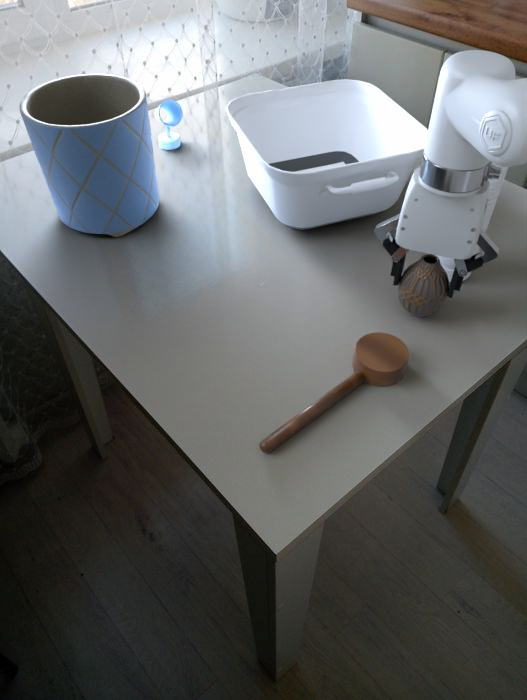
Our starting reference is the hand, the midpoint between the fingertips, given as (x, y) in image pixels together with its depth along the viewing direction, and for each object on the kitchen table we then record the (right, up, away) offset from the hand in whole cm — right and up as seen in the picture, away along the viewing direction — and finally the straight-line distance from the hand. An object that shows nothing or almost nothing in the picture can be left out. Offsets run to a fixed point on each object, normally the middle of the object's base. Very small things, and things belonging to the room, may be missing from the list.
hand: (423, 285), depth 78 cm
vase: (0, -3, +3) cm, 4 cm away
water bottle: (+8, +4, +11) cm, 14 cm away
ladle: (-13, -15, -7) cm, 21 cm away
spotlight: (-42, +34, +38) cm, 66 cm away
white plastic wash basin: (-12, +19, +24) cm, 33 cm away
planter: (-50, +16, +22) cm, 57 cm away
